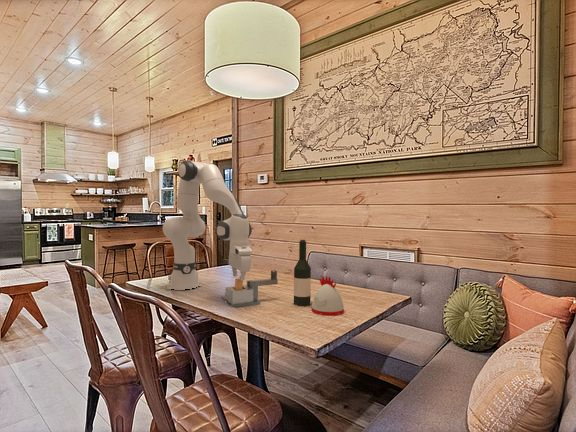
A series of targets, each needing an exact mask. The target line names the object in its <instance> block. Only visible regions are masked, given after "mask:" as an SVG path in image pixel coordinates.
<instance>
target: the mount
mask: <svg viewBox="0 0 576 432" xmlns="http://www.w3.org/2000/svg"><path fill="white" fill-rule="evenodd" d="M249 281H253V279H252V280H246V285H245V284H243V289H241V290H235V285H234V286H233V285H232V286H225V295H221V296H220V299H221V298H222V299H223V300H222V299H221V300H222V301H224V302H225V301H226V302H227V303H226V302H225V303H226V304H227V305H229V306H230V305H231V306H230V307H232V308H233V307H235V308H242V307H248V306H249V305H250V306H257V305H261V301H259V296H258V295H259V286H258V283H257V282H252V283H251V286H249ZM250 306H249V307H250Z"/></svg>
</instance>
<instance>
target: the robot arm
mask: <svg viewBox="0 0 576 432" xmlns="http://www.w3.org/2000/svg"><path fill="white" fill-rule="evenodd" d="M177 170H178V171H177V172H178V176H179V178H180V180H179V184H178V189H177V198H176V199H177V200H176V207H177V209H179V211H181V212H182V214H183V215H182V217H183V218H182V217H179V218H178V217H174V218H170V219H167V220H165V221H164V223H163V224H162V233H163V234H164V236H165V237H166V238H167V239H168V240H169V241H170V242H171V244H172V248H173V253H174V254H173V255H174V256H173V257H174V259H173V260H174V262H173V265H172V268H173V270H172V272H171V274H170V275H168V281H169V282H167V286H166V290H171V289H174V290H173V291H186V290H185V289H190V290H193V289H192V288H195V289H197V288H199V287H198V286H200V287H202V284H201V283H199V282H200V281H199V271H197V270H196V267H197V264H196V248H195V247H194V246H193V245H191V243H189V240H188V238H197V237H199V236H202V235H204V233H205V232H206V228H207V227H206V223H205V221H204V220H203V219H202V218H201V216H200V214H199V207H198V204H199V195H200V194H199V192H200V186H201V185H202V189H203V192H204V194H205V196H206V198H208V200H210V201H212V202H214V203H217V204H220V205H221V206H224V207H225V208H226V209H227V210H228V211H229V213H230V215H231V216H230V217H229V218H227V219H224V220H220V221H219V222H218V223H217V225H216V229H215V232H216V236H217V237H218V239H220V240H221V241H229V253H228V266H230V267H231V270H232V277H237V276H238V271H240V276H239V279H240V280H241V281H243V282H244V281H245V277H246V273H248V272H249V273H250V270H251V266H252V255H253V250H252V248H251V247H250V240H249V238H250V237H251V235H252V232H253V228H252V225H251V223H250V222H249V218H248V217H249V216H247V215H245V214H244V212H243V209H242V207H241V205H240V203H239V202H238V200H237V197H236V196H235V194H233V192H231V191H230V190H229V187H228V186H227V184H226V183H225V180H224V177H223V174H222V172H221V171H220V168H218V166H217V165H216V164H213V163H207V162H204V161H194V160H193V161H191V160H185V161H183V160H182V162H180V164H179V166H178V169H177ZM196 287H197V288H196Z"/></svg>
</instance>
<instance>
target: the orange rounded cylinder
mask: <svg viewBox="0 0 576 432" xmlns="http://www.w3.org/2000/svg"><path fill="white" fill-rule="evenodd" d="M243 285H244V281H241V280H240V278H235V279H234V286H235V290H241V289H243Z"/></svg>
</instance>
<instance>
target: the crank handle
mask: <svg viewBox="0 0 576 432" xmlns="http://www.w3.org/2000/svg"><path fill="white" fill-rule="evenodd" d="M252 280H253V279H252ZM248 281H249V280H248ZM252 282H257V283H258V287H263V286H275V285H278V284H279V283H278V270H276V269H275V270H271V271H270V278H266V279H254V280H253V281H249V286H251V283H252Z"/></svg>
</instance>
